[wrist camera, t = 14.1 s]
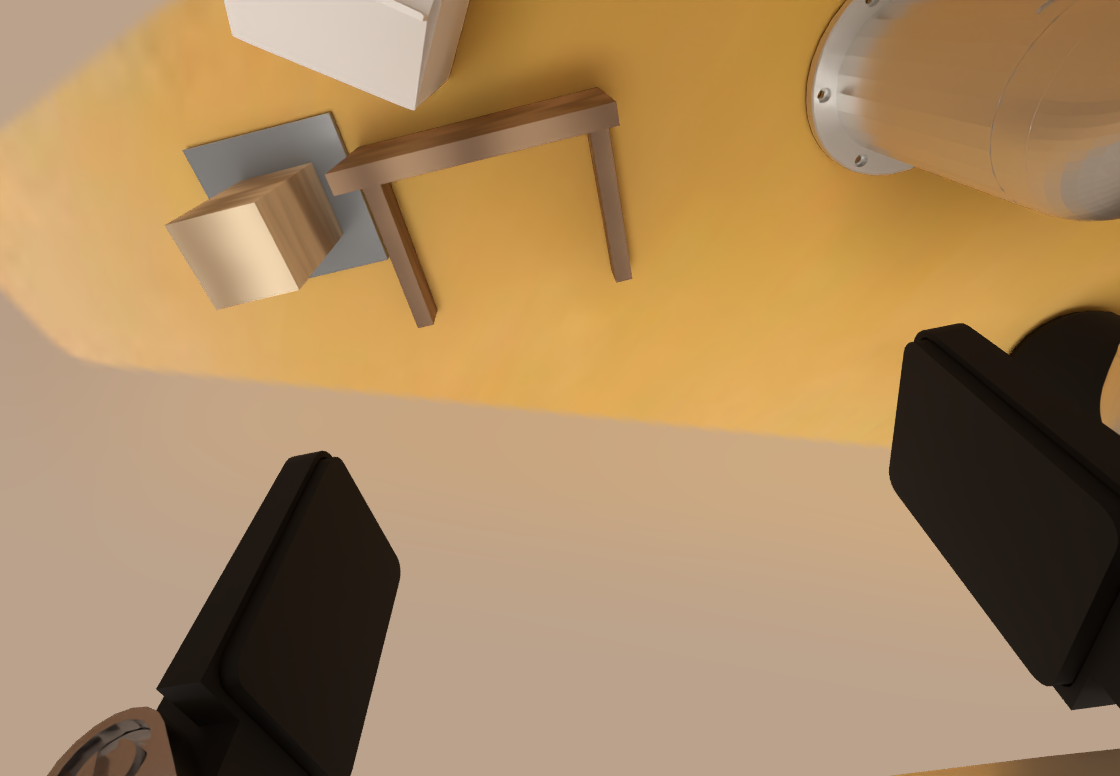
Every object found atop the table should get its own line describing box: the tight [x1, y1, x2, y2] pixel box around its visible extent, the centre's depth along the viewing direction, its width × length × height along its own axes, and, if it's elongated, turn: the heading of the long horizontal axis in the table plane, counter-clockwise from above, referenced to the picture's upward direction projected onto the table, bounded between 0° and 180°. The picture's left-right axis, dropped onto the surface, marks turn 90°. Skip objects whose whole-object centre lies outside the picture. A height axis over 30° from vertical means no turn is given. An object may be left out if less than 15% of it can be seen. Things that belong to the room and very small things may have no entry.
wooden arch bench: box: [325, 87, 632, 328], centre depth 38 cm, size 16×13×8 cm
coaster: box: [182, 112, 389, 278], centre depth 40 cm, size 10×10×1 cm
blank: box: [165, 162, 343, 310], centre depth 35 cm, size 5×5×10 cm
